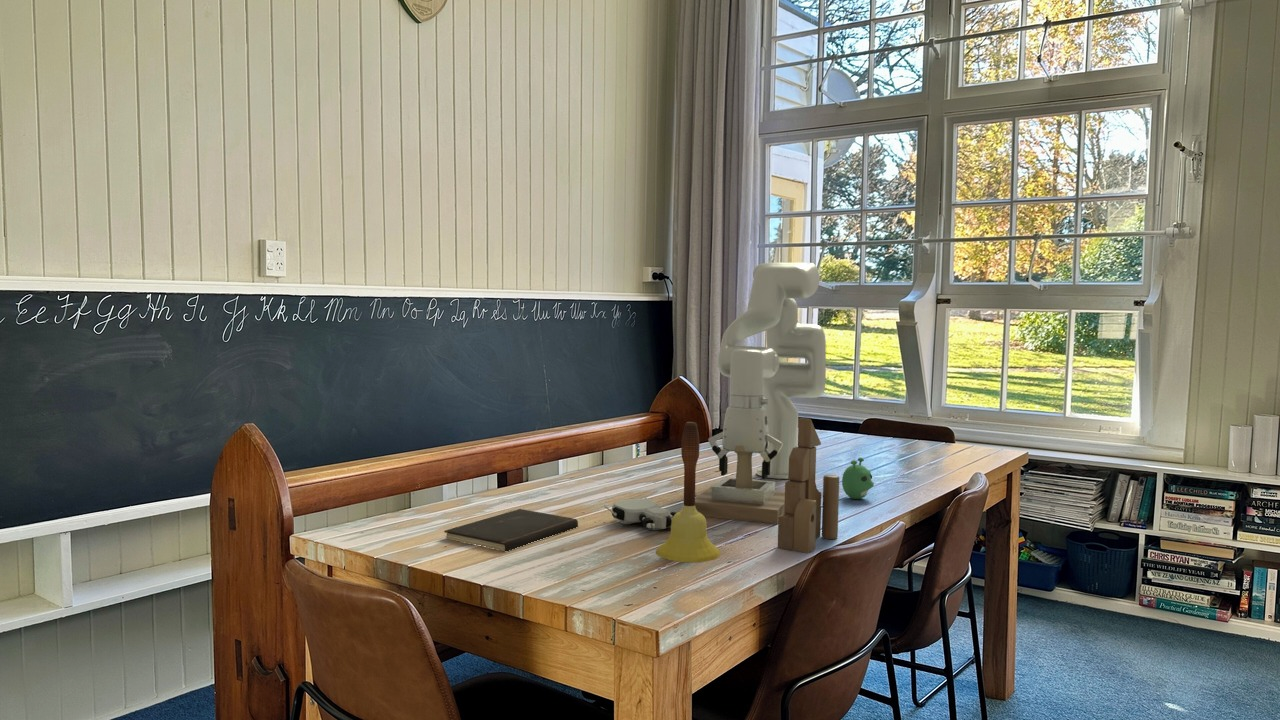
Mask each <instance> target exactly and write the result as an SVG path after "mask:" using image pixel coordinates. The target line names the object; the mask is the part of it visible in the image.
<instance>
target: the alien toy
mask: <svg viewBox="0 0 1280 720" xmlns="http://www.w3.org/2000/svg"><path fill="white" fill-rule="evenodd" d="M864 461H865V458H863V457H858V458H857V460H855V459H853V460H851V461H850V464H851V465H849V466H847V467H846V469H845V470H844V471H843V474H842V479H841V485H842V488H843V491H844V493H845V494H846V496H848V497H849V498H850V499H854V500H860V499H863V498H865V497H867V496H868V495H867V494H868V491H869V490H870V489H872V488H873V487H874V484H875V483H874V482H873V481H872V479H873V476H872V472H871V469H868V468H867V467H866V466H864V465H862V462H864ZM858 462H859V463H858Z"/></svg>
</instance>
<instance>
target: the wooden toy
mask: <svg viewBox="0 0 1280 720" xmlns="http://www.w3.org/2000/svg"><path fill="white" fill-rule="evenodd" d="M821 445H822V441H821V440H820V437H819V435H818V432H817V431H816V428H815V426H814V423H813V421H812V419H811V418H807V417H804V418H802V417H798V443H797V447H794V448H793V449H792V451H791V454H790V456H789V472H788V479H787V481H785V483H784V491H785V502H784V513H785V514H782V515H780V516H779V517H778V525H777V548H778V549H781V550H787V551H794V552H799V553H804V554H809V553H811V552H813V551H815V550H816V539H818V538H819V537H822V538H823V539H826V540H836V539H837V538H838V536H839V535H838V534H839V505H840V501H839V500H840V477H839V475H836V474H825V475H823V477H822V479H823V481H822V482H823V483H822V491H819V489H818V487H817V484H816V472H817V469H816V467H817V447H818V446H821Z"/></svg>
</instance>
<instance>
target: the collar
mask: <svg viewBox="0 0 1280 720" xmlns="http://www.w3.org/2000/svg"><path fill="white" fill-rule="evenodd" d="M752 483H753V484H752V489H748V488H737V487H736V486H735V484H736V477H724V478H722V479H720V481H718V482H716V483H715V484H713V485H712V486H711V487H712V500H720V501H731V502H741V503H751V504H762V505H764V504H765V503H766V502H767V501H768V500H769V499H770V498H771V497H772V496H773V495H775V491H776V481H773V480H765V479H761V480H760V479H752Z"/></svg>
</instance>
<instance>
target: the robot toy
mask: <svg viewBox="0 0 1280 720" xmlns="http://www.w3.org/2000/svg"><path fill="white" fill-rule="evenodd" d="M660 506H661V505H659V503H658V502H656V501H653V500H650V499H648V497H644V498H639V497H637V498H627V499H623V500H618V501H617V502H615V503H614V504H613V505H612V506H611V508H609V507H608V506H607V505H605V504H604V505H603V507H604V508H605V509H607V511H609V512H610V513H611V515H612V517H613V519H616V520H618V521H619V522H620V523H621V524H623V525H631V524H635V523H642V526H643V528H645V529H647V530H651V531H660V530H664V529H665V530H666V529H667V528H671V524H672V518H673V516H674V515H675V514H676V513H677V512H675V511H672V512H670V511H669V510H668V509H665V508H661V507H660Z"/></svg>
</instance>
